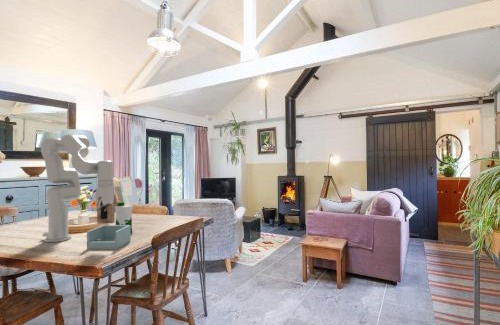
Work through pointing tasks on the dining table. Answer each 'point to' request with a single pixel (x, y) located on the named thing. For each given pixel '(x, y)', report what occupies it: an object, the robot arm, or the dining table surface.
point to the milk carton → (123, 214)
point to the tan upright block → (109, 215)
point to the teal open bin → (108, 236)
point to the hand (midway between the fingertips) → (105, 217)
